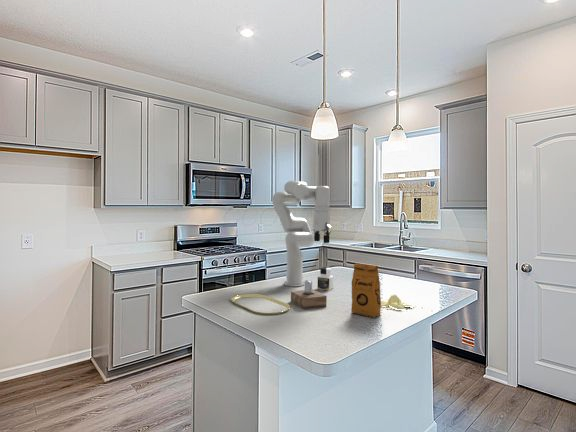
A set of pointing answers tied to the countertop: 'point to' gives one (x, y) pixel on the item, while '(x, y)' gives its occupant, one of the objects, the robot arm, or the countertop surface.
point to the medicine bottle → (325, 279)
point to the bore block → (308, 299)
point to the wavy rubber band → (264, 298)
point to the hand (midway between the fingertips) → (321, 242)
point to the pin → (308, 287)
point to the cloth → (394, 302)
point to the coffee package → (366, 290)
